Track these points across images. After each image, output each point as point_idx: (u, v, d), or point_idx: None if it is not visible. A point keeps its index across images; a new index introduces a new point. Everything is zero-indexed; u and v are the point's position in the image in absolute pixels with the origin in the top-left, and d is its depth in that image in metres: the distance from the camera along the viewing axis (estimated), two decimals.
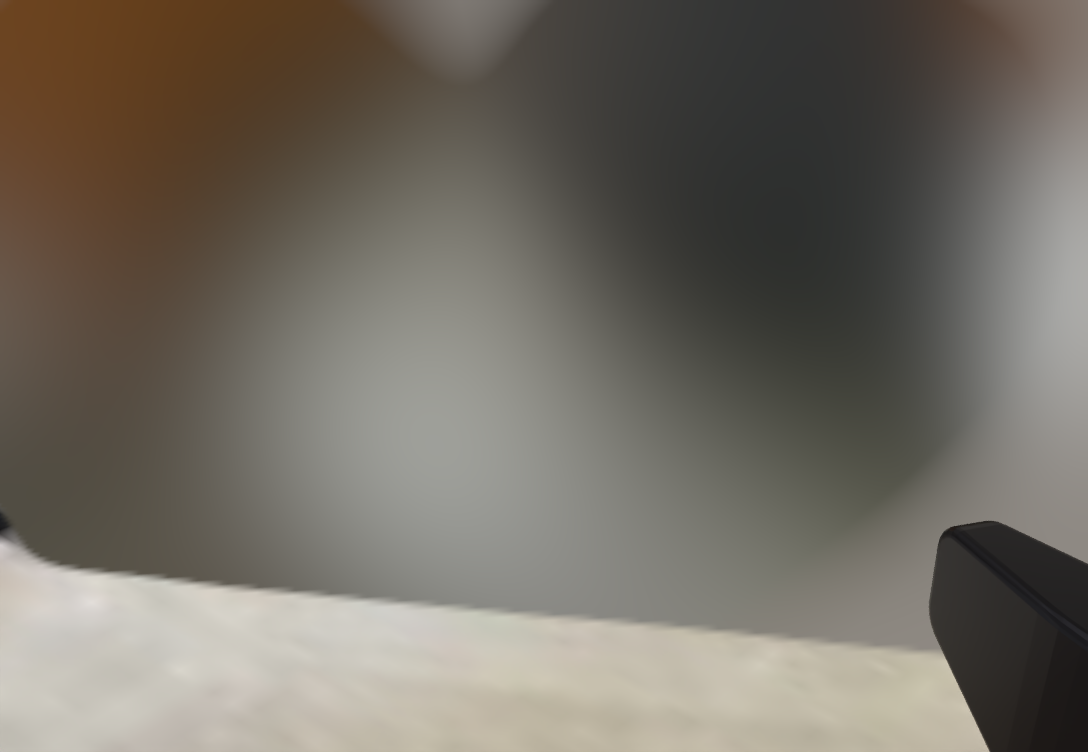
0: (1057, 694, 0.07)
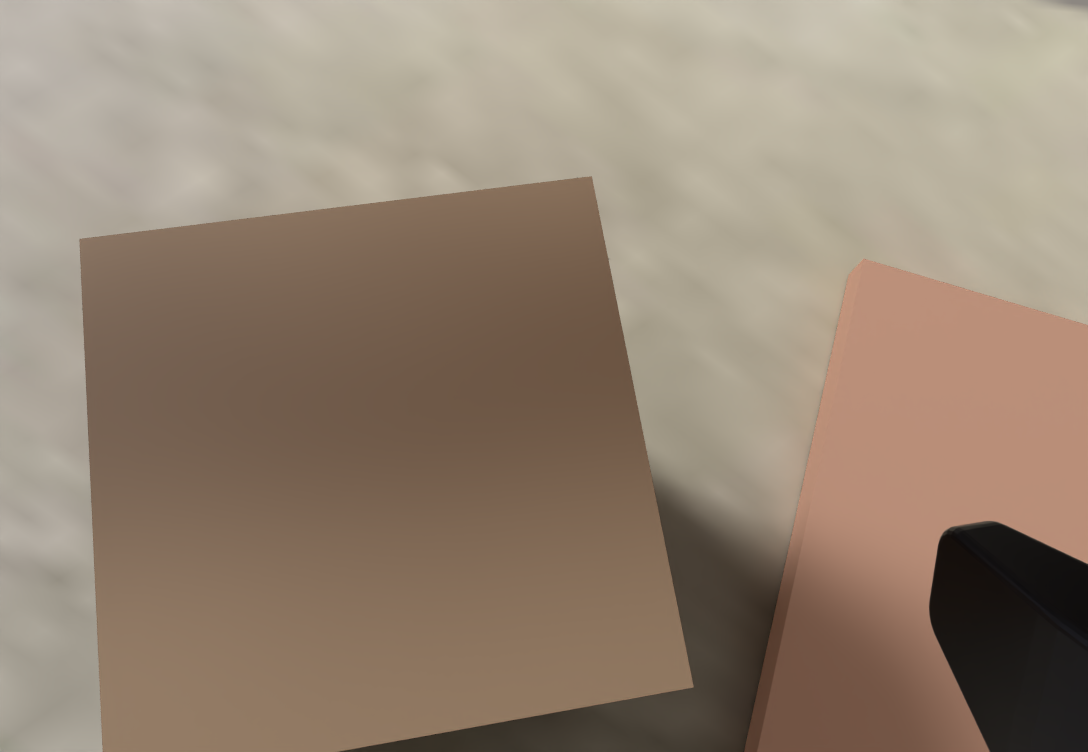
0: (1057, 695, 0.07)
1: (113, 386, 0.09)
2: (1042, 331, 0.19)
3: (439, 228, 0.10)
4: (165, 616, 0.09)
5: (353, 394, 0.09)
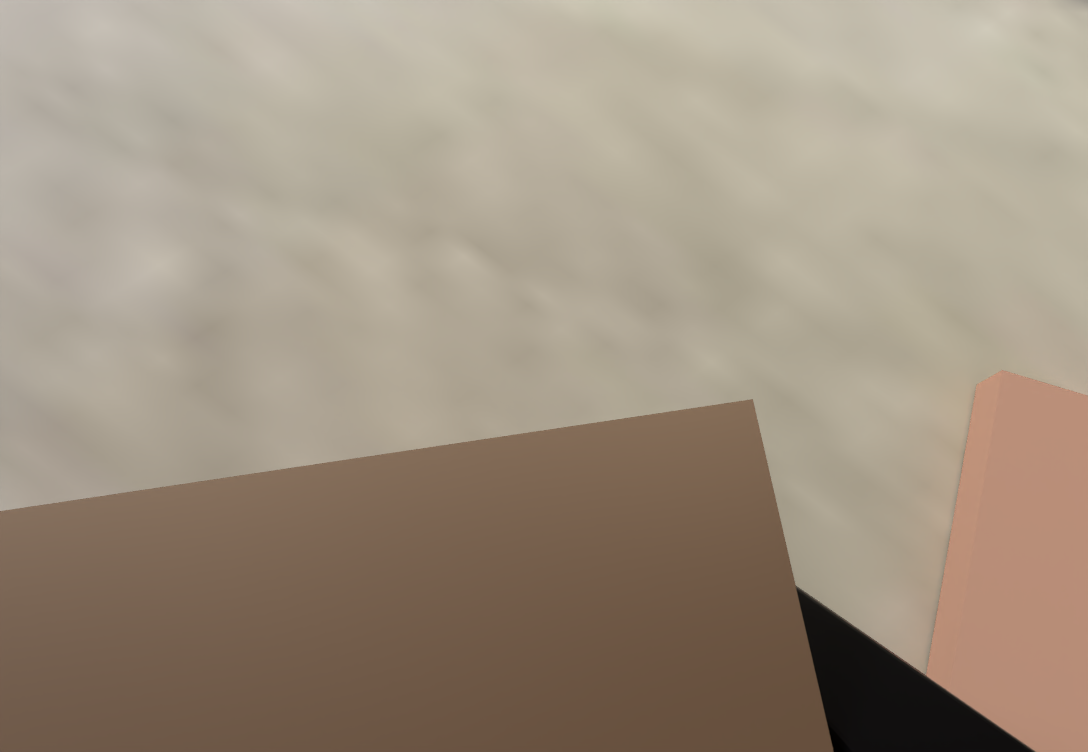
0: None
1: None
2: None
3: (496, 499, 0.06)
4: None
5: None
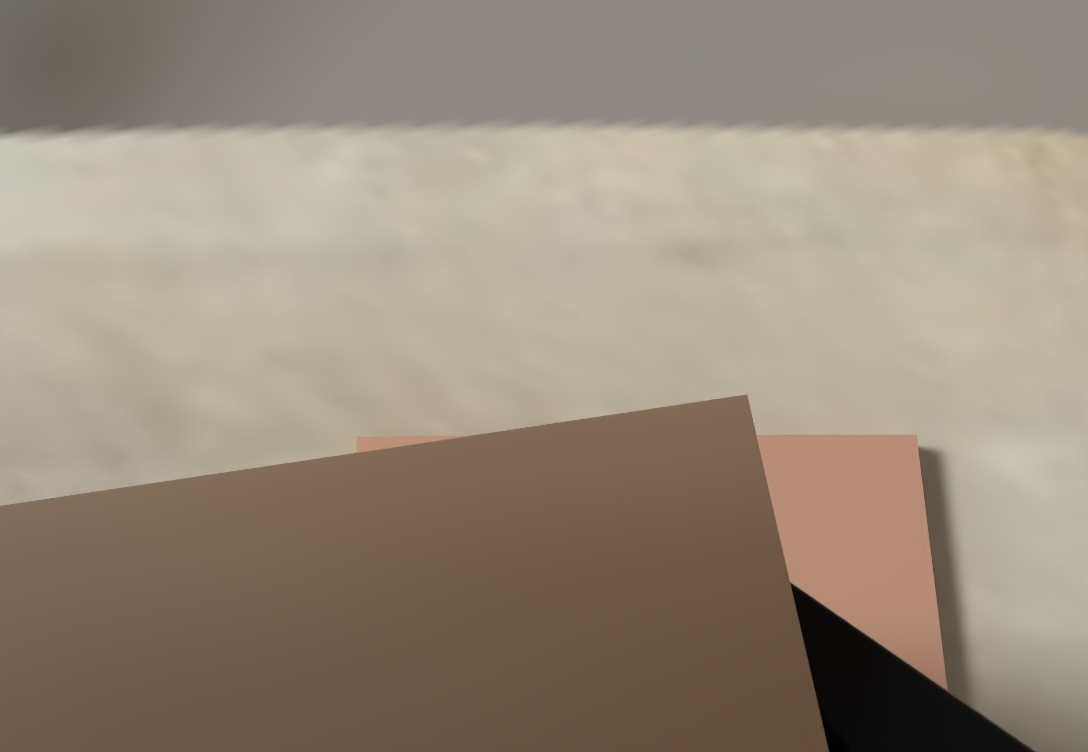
0: None
1: None
2: None
3: (493, 494, 0.06)
4: None
5: None
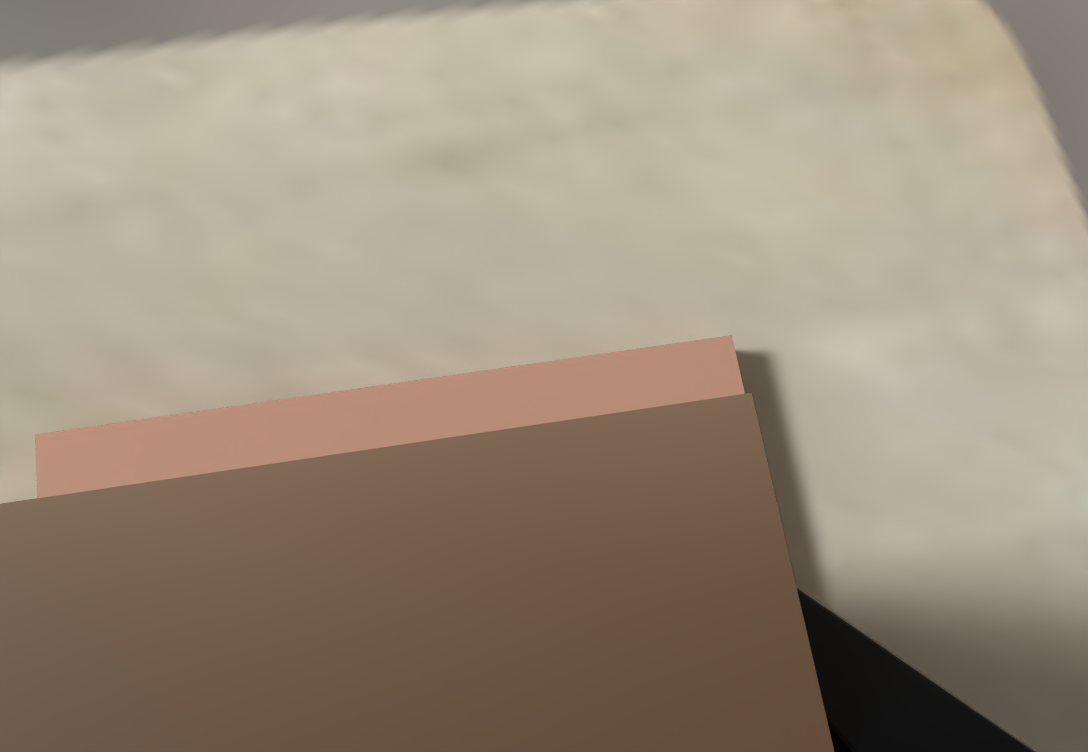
0: None
1: None
2: (255, 425, 0.17)
3: (496, 493, 0.06)
4: None
5: None
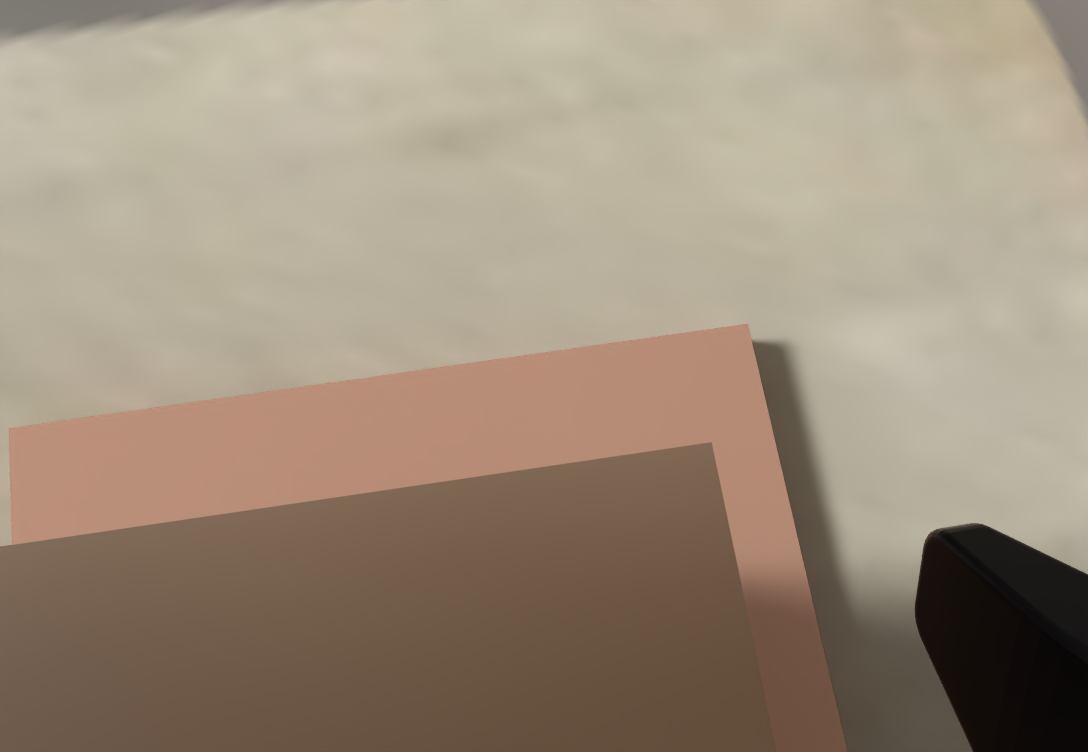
0: (1040, 698, 0.07)
1: None
2: (243, 419, 0.16)
3: (495, 527, 0.07)
4: None
5: None
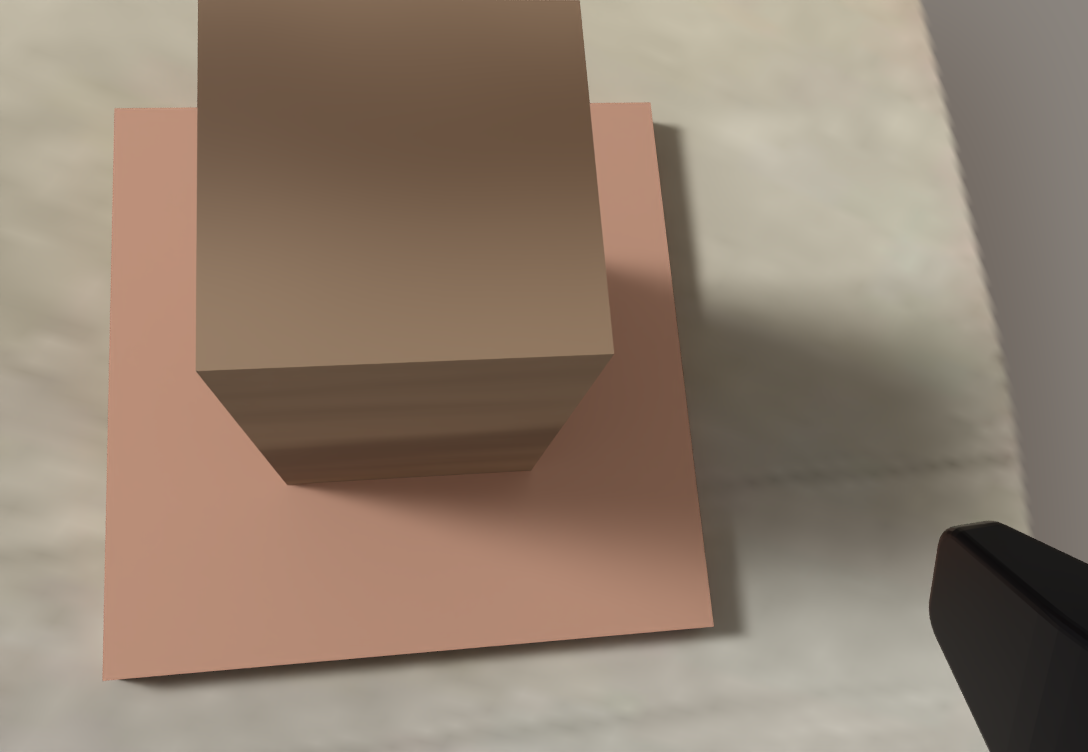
0: (1057, 694, 0.07)
1: (217, 102, 0.13)
2: None
3: (463, 23, 0.13)
4: (245, 261, 0.12)
5: (392, 130, 0.13)
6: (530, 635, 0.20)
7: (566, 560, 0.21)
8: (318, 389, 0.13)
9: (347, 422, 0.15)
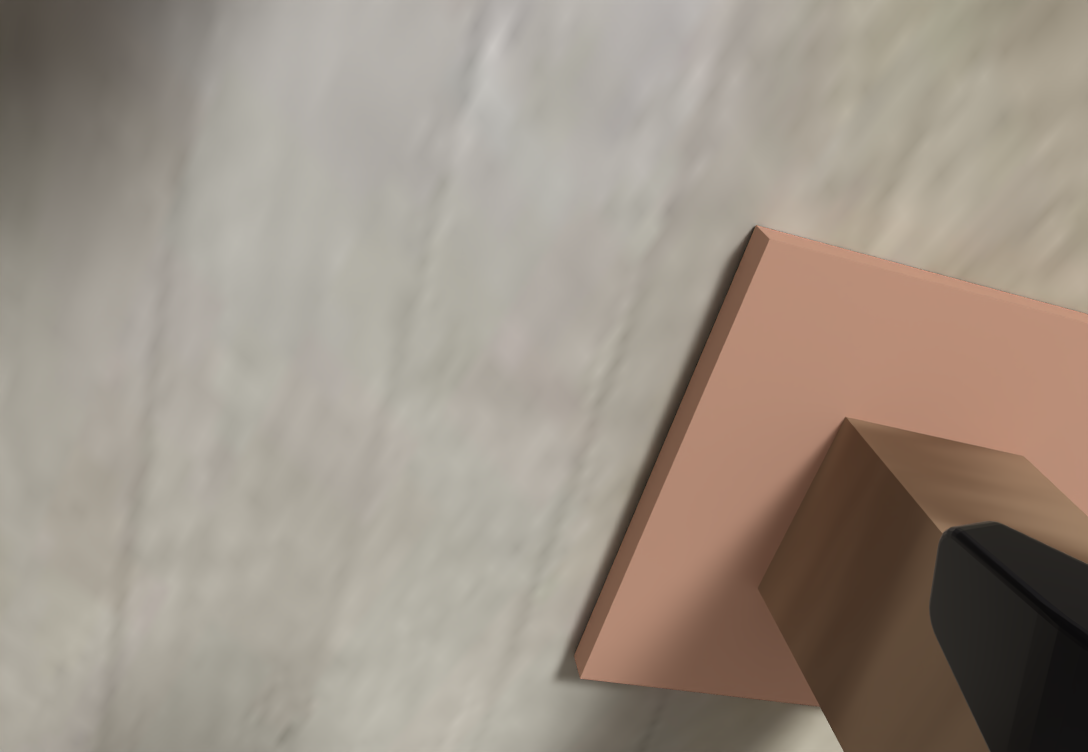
0: (1056, 694, 0.07)
1: None
2: None
3: None
4: None
5: None
6: (637, 560, 0.24)
7: (678, 596, 0.24)
8: None
9: None
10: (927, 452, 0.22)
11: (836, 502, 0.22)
